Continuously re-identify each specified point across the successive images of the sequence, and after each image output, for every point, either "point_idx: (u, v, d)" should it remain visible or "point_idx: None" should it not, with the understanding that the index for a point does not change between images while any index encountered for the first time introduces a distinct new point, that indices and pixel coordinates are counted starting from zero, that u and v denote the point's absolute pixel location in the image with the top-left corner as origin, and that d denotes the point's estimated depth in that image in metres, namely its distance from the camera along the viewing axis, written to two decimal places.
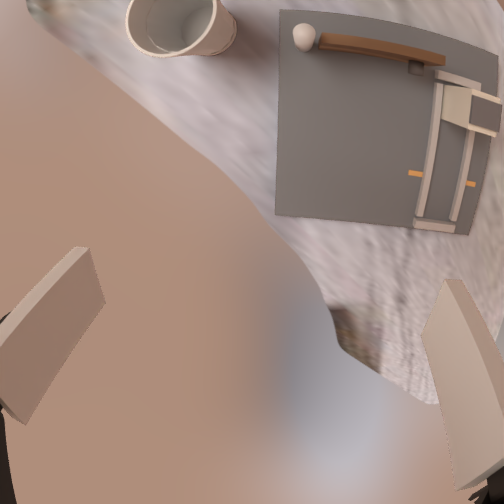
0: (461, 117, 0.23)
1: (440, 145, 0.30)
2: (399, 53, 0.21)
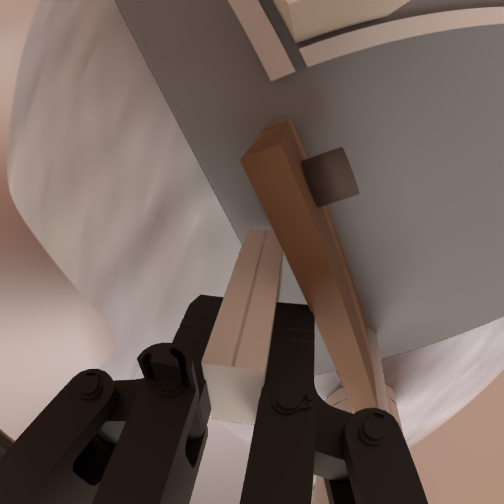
0: None
1: None
2: (339, 299, 0.09)
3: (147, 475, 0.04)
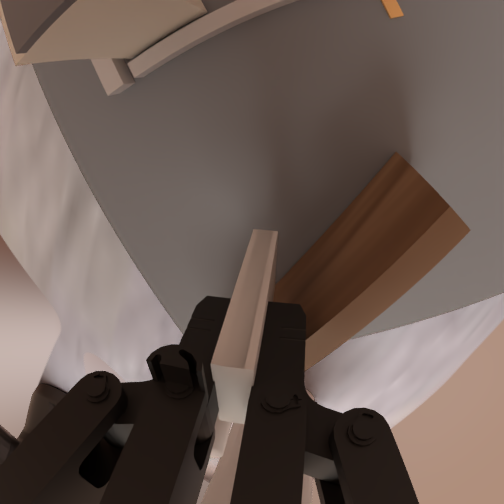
0: (123, 0, 0.06)
1: None
2: (353, 332, 0.09)
3: (155, 478, 0.04)
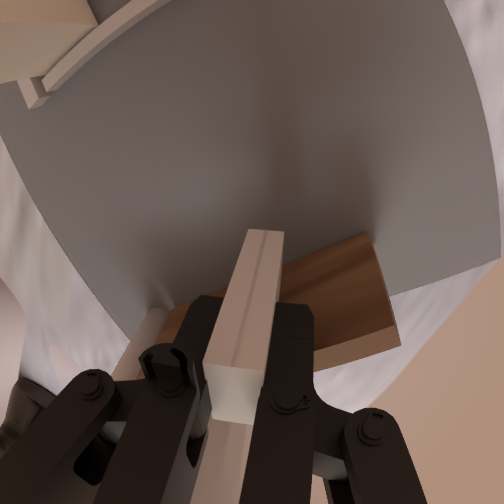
0: (5, 39, 0.06)
1: None
2: None
3: (148, 475, 0.04)
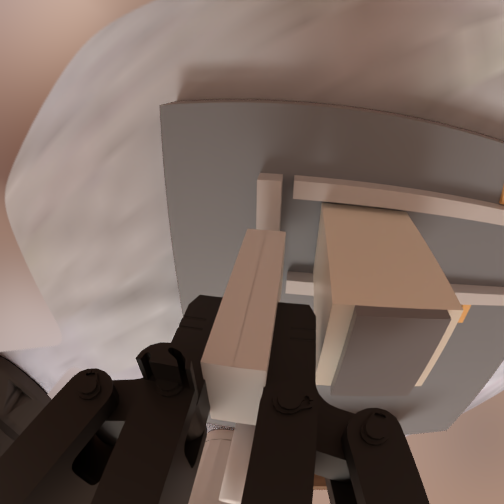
0: None
1: None
2: None
3: (146, 475, 0.04)
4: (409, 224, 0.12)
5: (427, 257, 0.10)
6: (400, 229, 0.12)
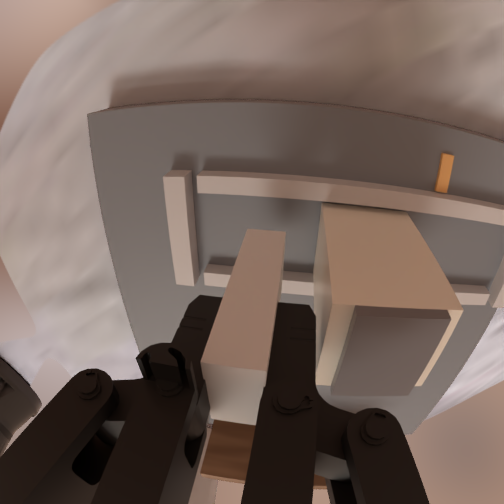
0: None
1: None
2: None
3: (146, 475, 0.04)
4: (409, 224, 0.12)
5: (427, 257, 0.10)
6: (400, 229, 0.12)
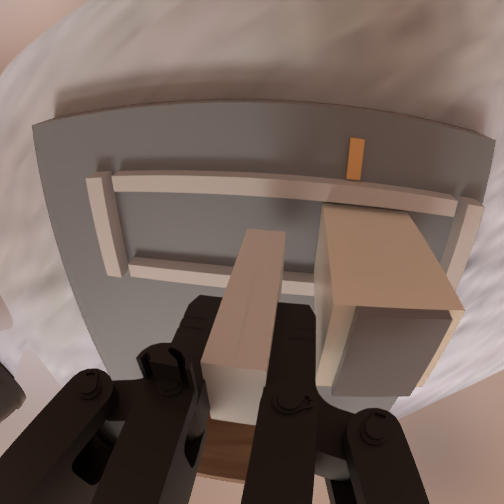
0: None
1: None
2: (234, 481, 0.19)
3: (146, 475, 0.04)
4: (410, 224, 0.12)
5: (428, 257, 0.10)
6: (401, 229, 0.12)
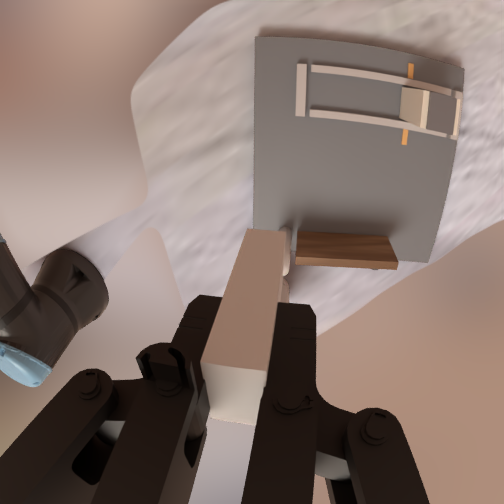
0: None
1: (375, 108, 0.30)
2: (357, 266, 0.33)
3: (146, 475, 0.04)
4: None
5: None
6: None
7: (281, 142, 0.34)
